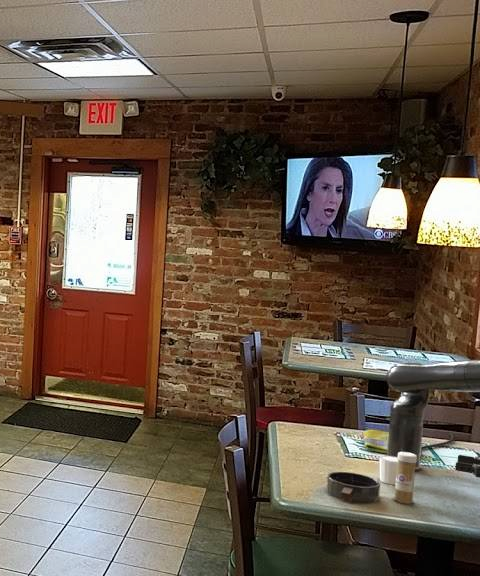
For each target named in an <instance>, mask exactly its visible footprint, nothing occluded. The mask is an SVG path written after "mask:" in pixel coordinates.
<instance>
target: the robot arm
mask: <svg viewBox="0 0 480 576" xmlns="http://www.w3.org/2000/svg"><path fill="white" fill-rule="evenodd" d="M385 380H386V383H387V385H388V386H389V387H390V388H391V389H392V390H394V391H395V392H398V393H401V394H400V395H399V396H398V397H397V399H395V400H394V401H392V402H391V404H390V412H389V426H388V432H389V436H388V448H387V453H386V455H385V456H394V457H398V453H399V452H408V453H412V454H415V455H416V456H417V462H416V464H415V471H418V470H420V469H421V465H420V464H421V455H422V450H424V449H430V448H436V447H440V446H446V445H448V444H451V443H452V442H453V441H454V440H455V434H454V433H453V432H452V431H451V432H450V433H449V436H450V437H451V438H450V439H449V440H447V441H443V442H438V443H434V444H428V445H423V446H422V441H423V431H424V430H423V429H424V415H425V411H426V409H427V407H428V404H429V398H430V390H432V391H442V392H457V393H480V359H464V360H454V361H446V362H440V363H434V364H426V365H424V364H422V363H419V362H405V363H404V362H402V363H397V364H394V365H393V366H391V367H390V368H389V369H388V370H387V372H386V375H385ZM455 471H457V472H461V473H462V472H463V473H468V474H472V475H474V476H475V477H476V478H480V455H478V456H468V455H465V454H464V455H463V454H458V455H457V461H456V462H455Z"/></svg>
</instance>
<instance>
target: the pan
mask: <svg viewBox="0 0 480 576" xmlns="http://www.w3.org/2000/svg"><path fill="white" fill-rule="evenodd" d="M344 487H349V488H353V502H352V503H361V504H369V503H375V502H377V501H378V500H379V499H380V494H381V482H380V480H377V479H375V478H374V477H371V476H368V475H365V474H361V473H356V472H350V471H332V472H329V473H328V474H327V476H326V487H325V488H326V491H327V492H328V493H329V494H330V495H331V496H333V497H334V498H337V499H340V500H342V499H341V491H342V490H343V489H344Z"/></svg>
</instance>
